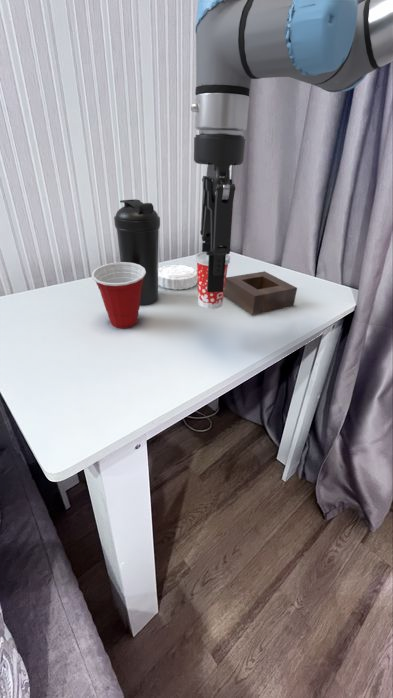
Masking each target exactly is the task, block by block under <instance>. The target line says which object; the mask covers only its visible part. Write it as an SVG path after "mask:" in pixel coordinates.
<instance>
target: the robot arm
mask: <svg viewBox="0 0 393 698" xmlns="http://www.w3.org/2000/svg"><path fill="white" fill-rule="evenodd" d="M194 28H195V29H194V33H195V59H196V60H195V92H194V93H195V102H193V103H192V104H191V105H190V111H191V112H192V113H195V115H194V129H195V130H197V131H198V134H195V136H194V137H193V161H194V163H195V164H199V165H206V166H207V167H206V175H202V178H201V182H202V197H201V198H202V199H201V220H200V230H199V233H200V236H201V241H202V243H201V252H206V255H209V260H208V281H207V292H223V286H224V273H225V260H226V254H228V255H230V253H231V241H232V226H233V225H232V224H233V211H234V210H233V209H234V199H235V193H236V192H235V191H236V184H235V183H233V179H232V178H231V175H230V173H231V170H230V168H231V166H241V165H242V164H243V163H244V158H245V147H246V146H245V145H246V138H245V136H243V132H246V130H248V121H249V120H248V119H249V107H250V92H251V91H250V90H251V84H252V80H259V79H270V78H291V79H294V80H297V81H300V82H303V83H305V84H310V85H312V86H314V87H317V88H320V89H321V90H324V91H325V92H329V93H343V92H348V91H350V90H352V89H354V88H356V87H357V86H358V85H359V84H361V82H362V81H364V79H366V77H367V75H369V74H370V73H372V72H374V71H375V70H377V69H380V68H382V67H384V66H387V65H388V64H390V63H392V62H393V0H363V1H362V2H359V3H358V0H197V11H196V23H195V27H194Z"/></svg>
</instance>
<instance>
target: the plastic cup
mask: <svg viewBox="0 0 393 698" xmlns="http://www.w3.org/2000/svg"><path fill="white" fill-rule="evenodd" d="M145 274H146V271H145V268H144V267H142V266H141V265H138V264H135V263H128V262H120V261H119V262H111V263H107V264H103V265H101V266H98V267H97V268H95V269H94V270H93V271H92V272H91V278H92V280H94V282H95V283H96V285H97V287H98V288H97V289H98V290H99V292H100V295H101V299H102V302H103V305H104V309H105V311H106V313H107V316H108V319H109V322H110V324H111V326H112V327H115V328H117V329H129V328H132V327H134V326H135V325H137V323H138V320H139V310H140V306H141V305H140V298H141V289H142V283H143V278H144V276H145Z"/></svg>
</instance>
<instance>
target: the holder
mask: <svg viewBox="0 0 393 698" xmlns="http://www.w3.org/2000/svg"><path fill="white" fill-rule="evenodd" d="M297 292H298V287H296V286H295V285H293V284H290V283H288V282H287V281H285V280H282V279H281V278H278V277H277V276H275V275H273V274H271V273H269V272H267V271H257V272H251V273H244V274H239V275H233V276H226V282H225V289H224V296H223V297H224V298H227V299H228V300H230V301H231V302H232V303H233V304H235V305H237V306H238V307H239V308H241V309H242V310H244V311H245V312H246V313H248V314H250V315H251V316H256V315H261V314H265V313H268V312H269V313H270V312H274V311H278V310H282V309H287V308H292V307H294V306H295V302H296V301H295V300H296V295H297Z"/></svg>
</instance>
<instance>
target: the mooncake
mask: <svg viewBox="0 0 393 698" xmlns="http://www.w3.org/2000/svg"><path fill="white" fill-rule="evenodd" d="M197 284H198V277H197V269H195V268H193V267H190V266H187V265H185V264H170V265H167V264H166V265H163V266H161V267H158V287H161V288H163V289H167V290H175V291H176V290H180V291H182V290H188V289H189V288H193V287H194V286H197Z"/></svg>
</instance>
